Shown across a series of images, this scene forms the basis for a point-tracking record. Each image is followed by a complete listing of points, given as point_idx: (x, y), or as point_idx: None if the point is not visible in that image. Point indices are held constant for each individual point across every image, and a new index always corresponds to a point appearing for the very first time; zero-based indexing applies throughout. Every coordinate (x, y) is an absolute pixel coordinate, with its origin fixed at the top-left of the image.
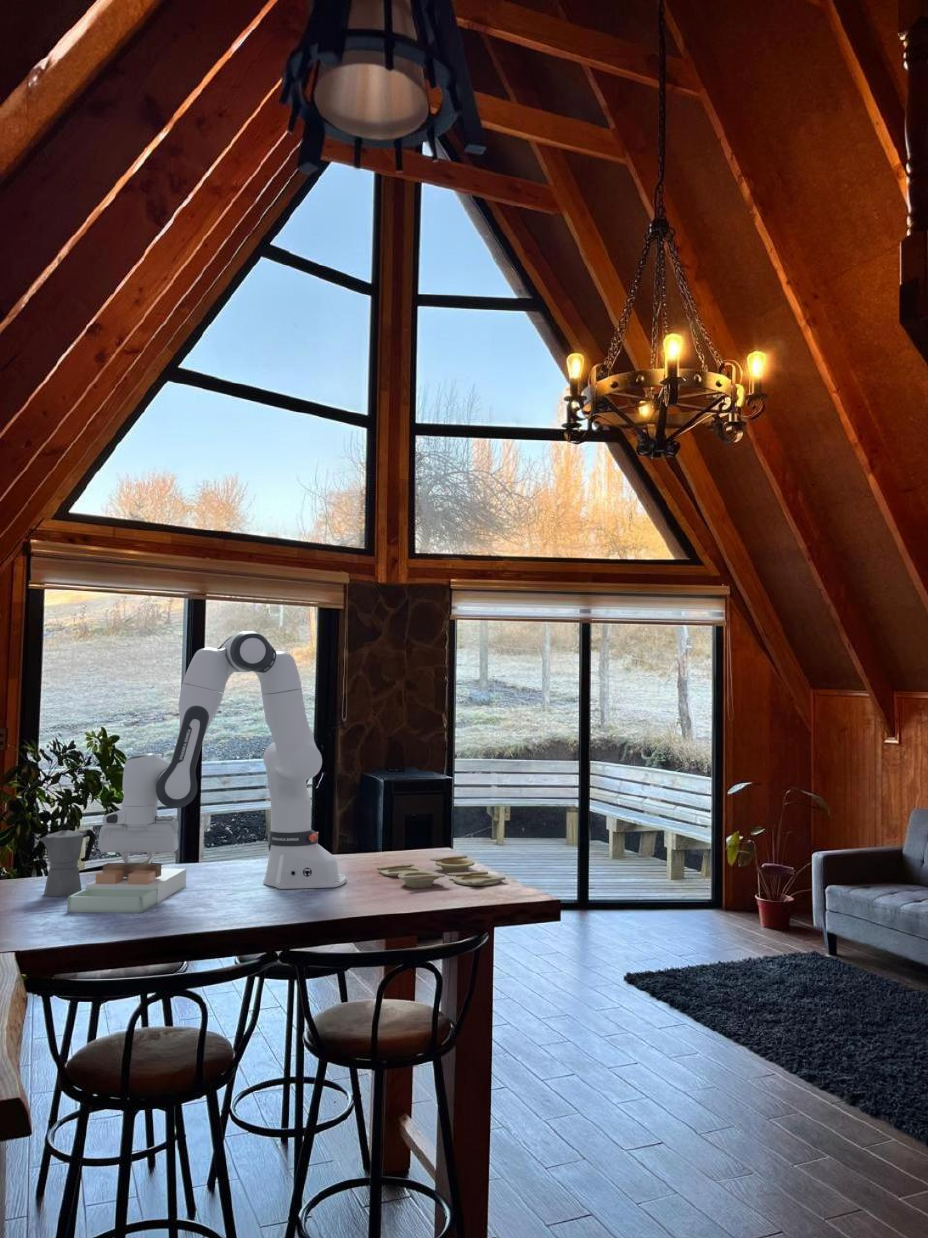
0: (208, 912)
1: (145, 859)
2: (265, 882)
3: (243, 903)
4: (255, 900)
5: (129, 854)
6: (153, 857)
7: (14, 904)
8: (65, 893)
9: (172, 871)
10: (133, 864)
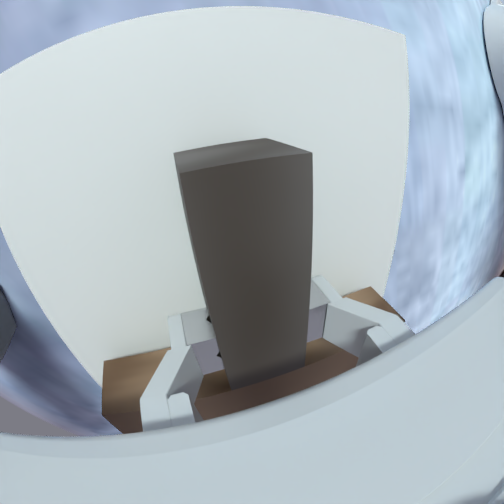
0: (423, 318)
1: (271, 233)
2: (495, 76)
3: (467, 246)
4: (481, 219)
5: (191, 404)
6: (382, 318)
7: (15, 401)
8: (9, 342)
9: (374, 105)
10: (278, 397)
